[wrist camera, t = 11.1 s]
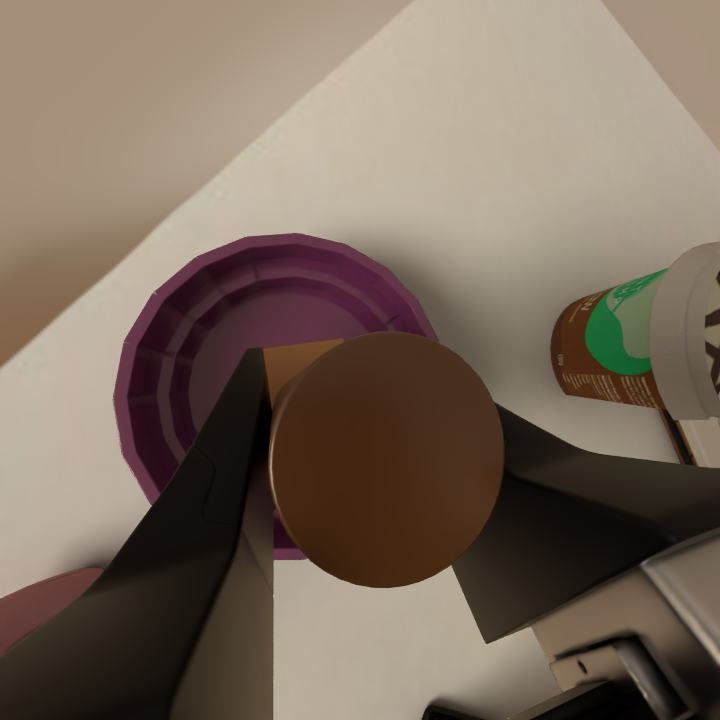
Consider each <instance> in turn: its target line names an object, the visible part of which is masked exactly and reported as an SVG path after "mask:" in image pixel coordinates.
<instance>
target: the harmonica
mask: <svg viewBox="0 0 720 720" xmlns="http://www.w3.org/2000/svg"><path fill="white" fill-rule="evenodd" d="M658 410H659V413H660V415H661V417H662V420H663V422H664V424H665V426H666V429H667V431H668V433H669V436H670V438H671V440H672V443H673V445H674V447H675V450H676V452H677V454H678V457H679V459H680V461H681V464H683V465H691V466H699V467H710V468H720V425H719V423H718V420H717V418H716V417H710V419H709V420H673V418H672V417H671V415H670V413H669V412H668V410H664V409H658Z"/></svg>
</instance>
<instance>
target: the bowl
mask: <svg viewBox="0 0 720 720" xmlns="http://www.w3.org/2000/svg"><path fill="white" fill-rule="evenodd" d="M376 331H386V332H389V331H393V332H406V333H411V334H415V335H420V336H423V337H426V338H428V339H431V340H434V341H436V342H438V343H439V340H438V338H437V336H436V334H435V332H434V330H433V328H432V326H431V324H430V323H429V321H428V319H427V317H426V315H425V313H424V311H423V309H422V307H421V305H420V303H419V301H418V300H417V299H416V298H415V297H414V296H413V295H412V294H411V293H410V291H409V290H408V289H407V288H406V287H405V286H404V285H403V284H402V283H401V282H400V281H399V280H398V279H397V278H396V277H395V276H394V274H393V273H392V272H391V271H390V270H389V269H388V268H386V267H385V266H383V265H381V264H379V263H378V262H376V261H374V260H372V259H371V258H369V257H367V256H365V255H364V254H362V253H360V252H359V251H357V250H355V249H353V248H352V247H350V246H348V245H345V244H343V243H339V242H334V241H330V240H326V239H321V238H317V237H313V236H308V235H304V234H300V233H298V234H297V233H291V234H277V235H264V236H250V237H244V238H242V239H239V240H237V241H234V242H232V243H229V244H227V245H224V246H222V247H219V248H217V249H214V250H212V251H209V252H207V253H204V254H202V255H199V256H197V258H194V259H193V260H192V261H190V262H189V263H188V264H187V265H186V266H184V267H183V268H182V269H181V270H180V271H178V272H177V273H176V274H175V275H174V276H172V277H171V278H170V279H169V280H168V281H167V282H165V283H164V284H163V285H162V286H161V287H159V288H158V289H157V290H156V291H155V292H154V293H153V294H152V295H151V297H150V298H149V300H148V302H147V303H146V305H145V307H144V308H143V310H142V312H141V313H140V315H139V317H138V318H137V320H136V322H135V323H134V325H133V327H132V328H131V330H130V332H129V333H128V335H127V337H126V338H125V340H124V343H123V348H122V353H121V358H120V364H119V369H118V374H117V379H116V384H115V389H114V394H113V398H114V399H113V405H114V411H115V417H116V423H117V429H118V435H119V441H120V447H121V453H122V455H123V458H124V460H125V461H126V463H127V465H128V466H129V468H130V470H131V472H132V473H133V475H134V477H135V478H136V480H137V482H138V484H139V485H140V487H141V489H142V490H143V492H144V494H145V496H146V497H147V499H148V501H149V502H150V504H151V505H153V504H154V502H155V501H156V500H157V498H158V497H159V495H160V494H161V492H162V491H163V490H164V488H165V487H166V485H167V484H168V482H169V481H170V479H171V478H172V476H173V475H174V473H175V471H176V470H177V468H178V467H179V465H180V463H181V462H182V460H183V458H184V457H185V455H186V453H187V451H188V450H189V448H190V446H191V445H193V441H194V439H195V438H196V436H197V434H198V432H199V431H200V429H201V427H202V425H203V424H204V422H205V420H206V418H207V417H208V415H209V413H210V411H211V410H212V408H213V406H214V404H215V403H216V401H217V399H218V397H219V396H220V394H221V392H222V390H223V389H224V387H225V385H226V383H227V382H228V380H229V378H230V376H231V375H232V373H233V371H234V369H235V368H236V366H237V364H238V362H239V361H240V359H241V357H242V355H243V354H244V352H245V350H246V349H248V348H255V347H261V348H269V347H277V346H285V345H292V344H300V343H308V342H316V341H324V340H331V339H339V338H343V340H344V341H346V340H349V339H352V338H355V337H358V336H361V335H365V334H370V333H372V332H376ZM439 344H440V343H439ZM304 559H308V558H307V557H306V556H305V555H304V554H303V553H302V552H301V551H300V550H299V549H298V548H297V546H296V545H295V544H294V542H293V541H292V539H291V538H290V537H289V535H288V534H287V532H286V530H285V528H284V526H283V524H282V523H281V521H280V519H279V516H278V513H277V511H276V508H275V505H274V557H273V560H304Z"/></svg>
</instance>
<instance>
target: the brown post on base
mask: <svg viewBox="0 0 720 720" xmlns="http://www.w3.org/2000/svg"><path fill="white" fill-rule="evenodd" d="M262 349H263V354H264V359H265V365H266V370H267V377H268V384H269V391H270V399H271V406H272V416H271V426H270V441H269V458H268V471H269V484H270V489H271V493H272V498H273V502H274V505H275V508H276V511H277V513H278V516H279V519H280V521H281V523H282V524H283V526H284V528H285V530H286V532H287V534H288V535H289V537H290V538H291V539H292V541H293V542H294V544H295V545H296V546H297V548H298V549H299V550H300V551H301V552H302V553H303V554H304V555H305V556H306V557H307V558H308V559H309V560H310V561H311V562H313V563H314V564H315V565H317V566H318V567H319V568H321V569H322V570H323V571H325V572H327V573H329V574H331V575H333V576H334V577H336V578H338V579H341V580H344V581H347V582H350V583H352V584H355V585H360V586H366V587H372V588H392V587H400V586H406V585H410V584H413V583H417V582H420V581H423V580H425V579H427V578H430V577H432V576H434V575H436V574H438V573H439V572H441V571H443V570H444V569H446V568H448V567H449V566H450V565H451V564H453V563H454V562H455V561H456V560H458V559H459V558H460V557H461V556H462V555H463V554H464V553H465V552H466V551H467V550H468V549H469V548H470V547H471V546H472V545H473V543H474V542H475V541H476V539H477V538H478V537H479V536H480V534H481V533H482V531H483V529H484V528H485V526H486V524H487V523H488V521H489V519H490V517H491V515H492V512H493V510H494V508H495V506H496V503H497V500H498V496H499V493H500V490H501V485H502V480H503V474H504V463H505V447H504V438H503V430H502V426H501V422H500V418H499V414H498V412H497V409H496V406H495V404H494V401H493V399H492V397H491V395H490V393H489V391H488V389H487V388H486V386H485V385H484V383H483V382H482V380H481V379H480V377H479V376H478V375H477V374H476V372H475V371H474V370H473V369H472V368H471V366H470V365H468V364H467V363H466V362H465V361H464V360H463V359H462V358H461V357H460V356H458V355H457V354H456V353H454V352H453V351H451V350H450V349H448V348H447V347H445V346H443V345H441V344H439V343H438V342H436V341H434V340H431V339H428V338H426V337H423V336H420V335H415V334H411V333H406V332H393V331H389V332H375V333H370V334H365V335H361V336H358V337H355V338H352V339H349V340H346V341H344V340H343V338H339V339H331V340H324V341H316V342H308V343H300V344H292V345H285V346H277V347H269V348H262Z"/></svg>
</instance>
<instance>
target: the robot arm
mask: <svg viewBox="0 0 720 720" xmlns="http://www.w3.org/2000/svg"><path fill="white" fill-rule="evenodd" d="M376 332H386V331H376ZM372 333H375V332H372ZM494 404H495V406H496V409H497V412H498V414H499V418H500V422H501V426H502V430H503V438H504V447H505V463H504V474H503V480H502V485H501V490H500V493H499V496H498V500H497V503H496V506H495V508H494V510H493V512H492V515H491V517H490V519H489V521H488V523H487V524H486V526H485V528H484V529H483V531H482V533H481V534H480V536H479V537H478V538H477V539H476V541H475V542H474V543H473V545H472V546H471V547H470V548H469V549H468V550H467V551H466V552H465V553H464V554H463V555H462V556H461V557H460V558H459V559H458V560H456V561H455V562H454V563H453V564H451V565H452V568H453V570H454V572H455V575H456V577H457V579H458V582H459V584H460V586H461V589H462V591H463V593H464V596H465V598H466V600H467V602H468V605H469V607H470V609H471V612H472V614H473V616H474V619H475V621H476V623H477V626H478V628H479V630H480V632H481V635H482V637H483V639H484V641H485V643H486V644H488V643H491V642H493V641H496V640H498V639H501V638H503V637H505V636H508V635H510V634H513V633H515V632H518V631H520V630H523V629H525V628H527V627H530V626H531V628H532V629H533V631H534V633H535V635H536V637H537V639H538V641H539V643H540V645H541V647H542V649H543V650H544V652H545V654H546V656H547V658H548V660H549V662H550V663H549V666H550V669H551V671H552V673H553V675H554V677H555V679H556V681H557V683H558V685H559V687H560V689H561V691H562V692H563V693H561V694H559V695H557V696H554V697H552V698H550V699H548V700H546V701H544V702H542V703H540V704H538V705H536V706H534V707H532V708H529V709H527V710H525V711H523V712H521V713H519V714H517V715H515V716H513V717H511V718H509V719H507V720H720V468H710V467H699V466H691V465H683V464H675V463H667V462H659V461H651V460H643V459H635V458H627V457H619V456H611V455H604V454H598V453H593V452H589V451H586V450H583V449H580V448H578V447H575V446H573V445H571V444H569V443H567V442H565V441H563V440H562V439H560V438H558V437H556V436H554V435H552V434H550V433H549V432H547V431H545V430H543V429H541V428H539V427H538V426H536V425H534V424H532V423H530V422H528V421H527V420H525V419H523V418H521V417H519V416H518V415H516V414H514V413H512V412H511V411H509V410H507V409H505V408H504V407H502V406H500V405H499V404H497V403H495V402H494ZM271 416H272V406H271V399H270V391H269V384H268V377H267V370H266V365H265V359H264V354H263V349H262V348H261V347H255V348H248V349H246V350H245V352H244V354H243V355H242V357H241V359H240V361H239V362H238V364H237V366H236V368H235V369H234V371H233V373H232V375H231V376H230V378H229V380H228V382H227V383H226V385H225V387H224V389H223V390H222V392H221V394H220V396H219V397H218V399H217V401H216V403H215V404H214V406H213V408H212V410H211V411H210V413H209V415H208V417H207V418H206V420H205V422H204V424H203V425H202V427H201V429H200V431H199V432H198V434H197V436H196V438H195V439H194V441H193V445H191V446H190V448H189V450H188V451H187V453H186V455H185V457H184V458H183V460H182V462H181V463H180V465H179V467H178V468H177V470H176V471H175V473H174V475H173V476H172V478H171V479H170V481H169V482H168V484H167V485H166V487H165V488H164V490H163V491H162V492H161V494H160V495H159V497H158V498H157V500H156V501H155V502H154V504H153V505H152V507H151V508H150V509H149V511H148V512H147V513H146V515H145V516H144V518H143V519H142V520H141V522H140V523H139V524H138V526H137V527H136V528H135V530H134V531H133V533H132V534H131V535H130V537H129V538H128V539H127V541H126V542H125V544H124V545H123V546H122V548H121V549H120V550H119V552H118V553H117V555H116V556H115V557H114V559H113V560H112V561H111V563H110V564H109V565H108V566H107V568H106V569H105V570H104V571H103V572H102V574H101V575H100V576H99V577H98V578H97V579H96V580H95V581H94V582H93V583H92V584H91V585H90V586H89V587H88V588H87V589H86V590H85V591H84V592H83V593H82V594H81V595H80V596H79V597H78V598H76V599H75V600H74V601H73V602H71V603H70V604H69V605H67V606H66V607H65V608H64V609H62V610H61V611H60V612H58V613H57V614H56V615H54V616H53V617H52V618H51V619H49V620H48V621H47V622H45V623H44V624H43V625H41V626H40V627H39V628H38V629H36V630H35V631H34V632H32V633H31V634H30V635H28V636H27V637H26V638H25V639H23V640H22V641H21V642H19V643H18V644H17V645H16V646H14V647H13V648H12V649H10V650H9V651H8V652H6V653H5V654H4V655H3V656H1V657H0V720H273V557H274V502H273V498H272V493H271V489H270V484H269V471H268V458H269V441H270V426H271ZM433 715H434V716H433ZM432 716H433V717H432ZM422 720H482V719H479V718H475V717H472V716H469V715H465V714H462V713H459V712H455V711H452V710H448V709H445V708H442V707H438V706H435V705H431V706H428V707H427V708H426V710H425V712H424V715H423V717H422Z"/></svg>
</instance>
